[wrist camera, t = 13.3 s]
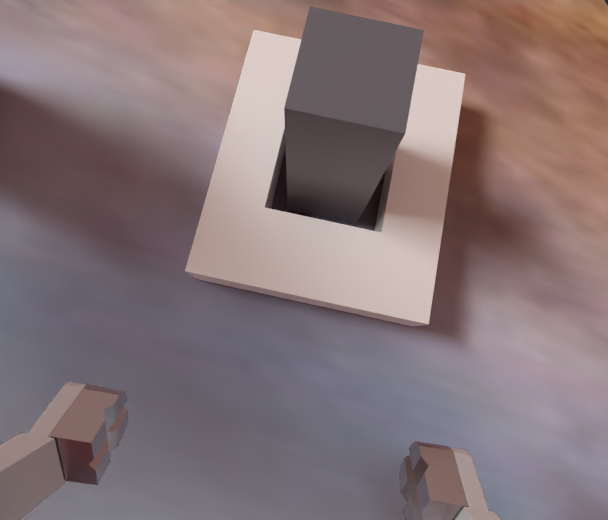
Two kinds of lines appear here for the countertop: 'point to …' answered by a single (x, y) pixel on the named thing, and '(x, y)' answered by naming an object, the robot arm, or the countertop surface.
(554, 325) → the countertop surface
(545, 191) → the countertop surface
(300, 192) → the plug
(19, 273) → the countertop surface
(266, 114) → the socket
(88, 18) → the countertop surface
